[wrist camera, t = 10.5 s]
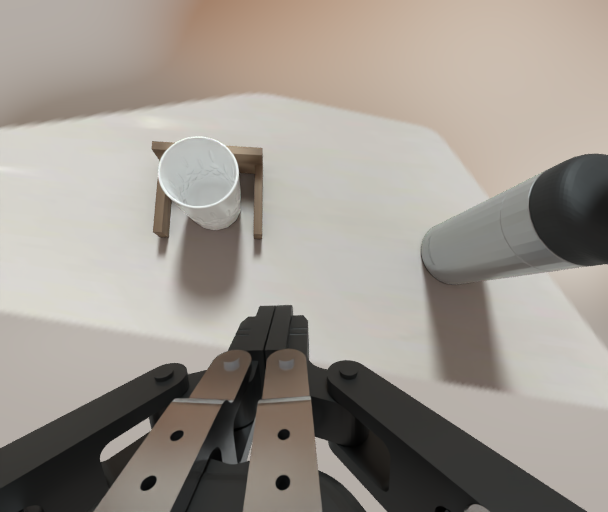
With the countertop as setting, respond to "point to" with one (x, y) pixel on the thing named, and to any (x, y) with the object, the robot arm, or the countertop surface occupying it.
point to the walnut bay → (247, 163)
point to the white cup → (202, 181)
